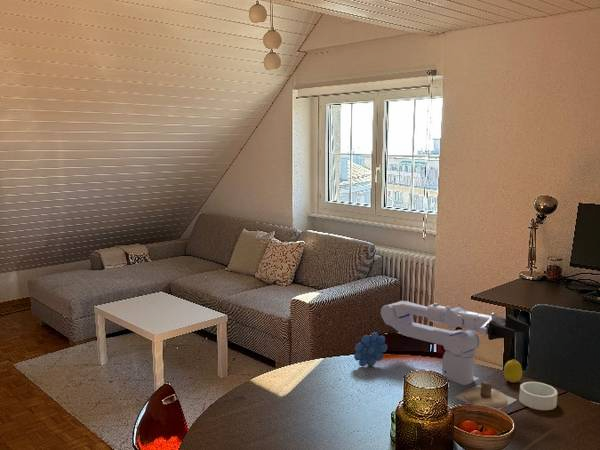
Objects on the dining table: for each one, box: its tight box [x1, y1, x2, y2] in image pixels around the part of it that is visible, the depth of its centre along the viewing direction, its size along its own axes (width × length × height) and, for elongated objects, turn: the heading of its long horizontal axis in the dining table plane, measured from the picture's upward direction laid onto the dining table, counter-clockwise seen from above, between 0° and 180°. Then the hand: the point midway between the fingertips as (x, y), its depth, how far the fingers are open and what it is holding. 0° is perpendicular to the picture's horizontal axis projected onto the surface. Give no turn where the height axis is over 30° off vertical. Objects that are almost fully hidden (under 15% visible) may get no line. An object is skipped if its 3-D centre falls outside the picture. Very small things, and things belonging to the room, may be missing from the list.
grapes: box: [353, 331, 388, 367], centre depth 194 cm, size 12×7×12 cm, turn 101°
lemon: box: [503, 359, 523, 384], centre depth 181 cm, size 6×6×8 cm
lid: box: [464, 380, 507, 408], centre depth 169 cm, size 12×12×5 cm
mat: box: [454, 384, 518, 411], centre depth 170 cm, size 13×13×1 cm
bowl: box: [518, 381, 558, 411], centre depth 167 cm, size 10×10×4 cm
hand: (521, 331), depth 166 cm, fingers open, 7 cm apart
